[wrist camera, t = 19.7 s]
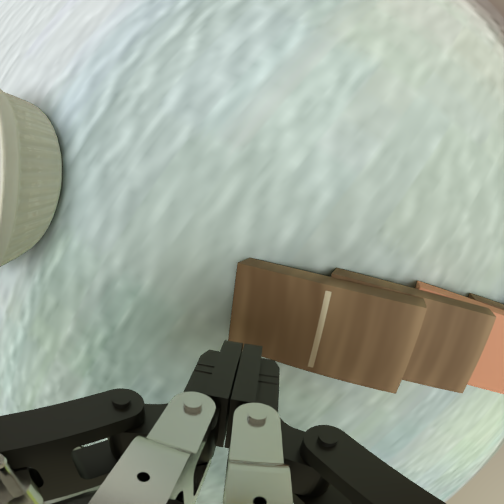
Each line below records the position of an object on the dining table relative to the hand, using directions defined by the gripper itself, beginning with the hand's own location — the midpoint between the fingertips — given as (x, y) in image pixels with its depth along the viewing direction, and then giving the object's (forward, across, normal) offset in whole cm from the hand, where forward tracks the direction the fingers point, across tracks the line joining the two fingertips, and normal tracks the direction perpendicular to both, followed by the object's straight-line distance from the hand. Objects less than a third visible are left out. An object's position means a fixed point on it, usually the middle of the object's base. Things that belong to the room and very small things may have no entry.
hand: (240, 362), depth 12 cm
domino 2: (+6, -4, 0) cm, 8 cm away
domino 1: (+6, +1, 0) cm, 6 cm away
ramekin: (+7, +20, -6) cm, 22 cm away
